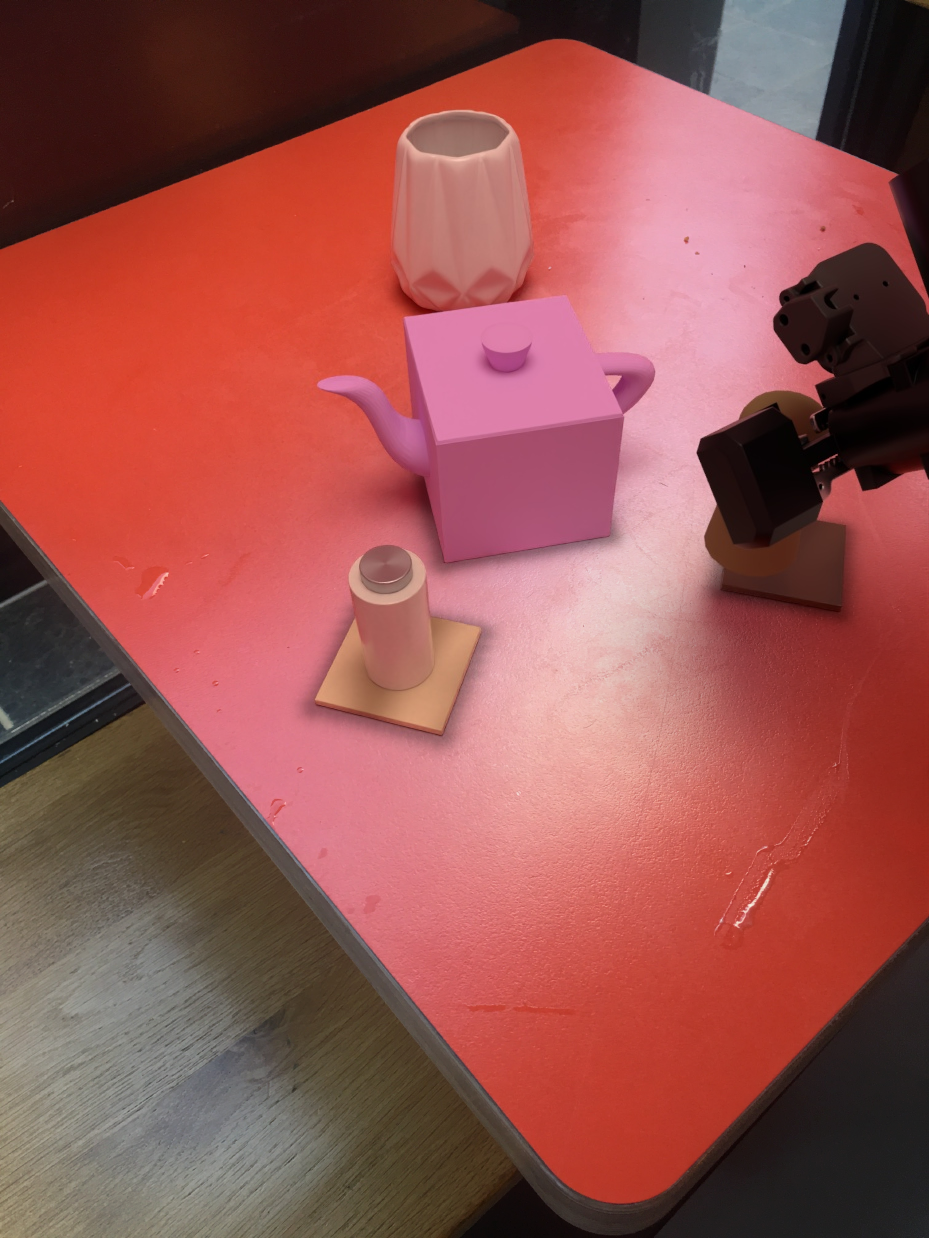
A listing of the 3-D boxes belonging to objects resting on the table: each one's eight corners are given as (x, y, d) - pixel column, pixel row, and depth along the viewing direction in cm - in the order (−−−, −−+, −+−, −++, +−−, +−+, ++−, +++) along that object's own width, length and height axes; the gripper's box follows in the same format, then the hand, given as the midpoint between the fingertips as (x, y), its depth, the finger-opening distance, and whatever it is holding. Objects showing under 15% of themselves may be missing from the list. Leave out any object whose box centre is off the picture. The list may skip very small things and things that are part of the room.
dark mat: (843, 530, 71) (846, 524, 71) (840, 611, 66) (842, 606, 66) (732, 511, 73) (733, 506, 72) (720, 589, 68) (721, 584, 67)
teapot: (331, 449, 79) (303, 302, 68) (614, 406, 82) (630, 257, 71) (351, 578, 70) (322, 431, 59) (670, 526, 72) (699, 375, 61)
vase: (497, 238, 100) (496, 88, 89) (556, 304, 92) (564, 147, 80) (375, 270, 97) (357, 118, 86) (425, 340, 89) (413, 183, 77)
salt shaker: (448, 652, 64) (440, 553, 56) (409, 701, 62) (395, 604, 54) (391, 625, 66) (376, 525, 58) (351, 672, 63) (329, 573, 56)
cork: (810, 530, 62) (858, 393, 53) (779, 589, 58) (825, 454, 50) (724, 500, 64) (756, 364, 55) (689, 555, 61) (718, 420, 52)
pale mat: (481, 632, 66) (481, 626, 66) (442, 735, 61) (441, 730, 60) (363, 606, 68) (362, 601, 68) (315, 704, 63) (314, 699, 62)
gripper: (1053, 165, 44) (819, 279, 59) (764, 293, 38) (583, 385, 53) (1124, 385, 46) (879, 443, 60) (858, 541, 40) (657, 563, 54)
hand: (756, 453), depth 57 cm, fingers closed on cork, 5 cm apart
